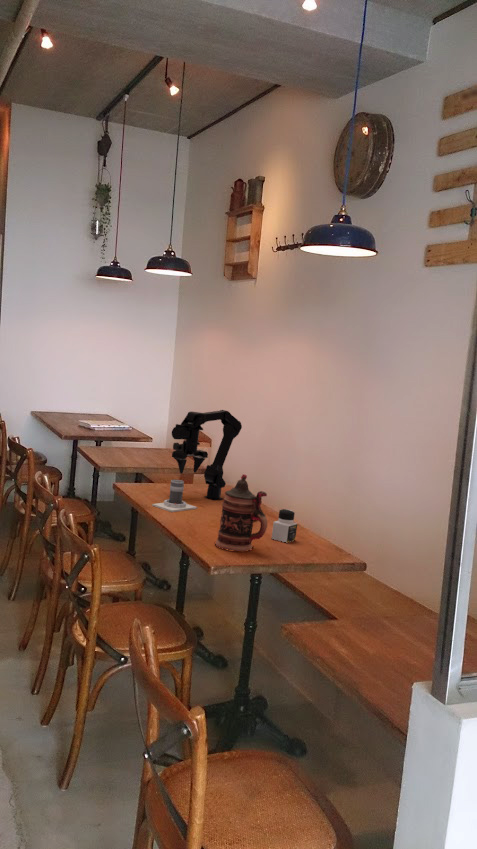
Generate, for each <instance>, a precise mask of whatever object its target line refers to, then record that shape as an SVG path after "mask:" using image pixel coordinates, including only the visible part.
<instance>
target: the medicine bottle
mask: <svg viewBox="0 0 477 849" xmlns="http://www.w3.org/2000/svg"><path fill="white" fill-rule="evenodd" d="M278 512H279V513H278V520H275V521H273V523H272V524H273V525H272V532H271V540H273V539H274V541H277V540H278V542H281V541H282V542H281V543H284V542H286V543H285V544H289V543H292V542H294V540H295V541H296V536H297V529H298V523H297V522H295V521H294V520H295V511H293V510H291V509H288V508H287V509H286V508H283V509H280V510H279V511H278ZM291 541H292V542H291ZM288 542H289V543H288Z"/></svg>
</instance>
